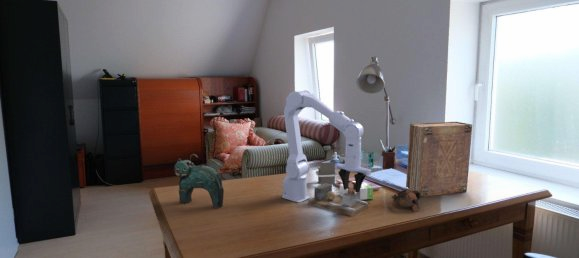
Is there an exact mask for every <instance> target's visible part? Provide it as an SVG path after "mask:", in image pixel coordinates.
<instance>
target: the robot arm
mask: <svg viewBox="0 0 579 258" xmlns="http://www.w3.org/2000/svg"><path fill="white" fill-rule="evenodd" d="M285 99H286V103H285V106H284V109H283V116H284V123H285V130H286V131H285V132H286V139H287V145H288V152H289V156H288V158H287V160H286V166H285V172H286V173H285V174H286V176H285V177H284V178H283V181H282V196H281V198H282V199H285V200H288V201H292V202H295V203H302V202H304V201H306V200H307V201H308V200H309V199H312V197H311V196H310V195H307V176H308V175H307V174H308V173H309V171H310V167H311V166H310V164H309V162H308V160H307V159H308V158H307V156H306V154H305V153H304V151H303V143H302V138H301V130H300V129H301V127H300V121H299V114H300V113H301V112H302V110H303V109H305V108H312V109H314V110H315V111H317V112H318V113H320V114H321V115H323V116H324V117H326V118H327V119H328V121H329V124H330V125H331V126H333V127H335V128H336V129H337V130H338V131H340V132H341V133H343V136H344V138H345V151H344V152H345V154H344V155H345V156H344V163H339V162H338V163H335V170H339V171H338V173H337V174H338V176H339V177H340V180H341V184H343V187H344V190H346V189H348V181H349V180H350V175H351V173H355V174H354V175H353V178H354V180H355V192H360V188H361V185H362V183H363V182H364V181H365V178H366V177H369V176H371V175H372V169H369V168H367V167H363V166H361V160H362V155H361V154H362V136H363V135H364V131H365V130H364V126H363V125H362V124H361V123H360V122H359V121H356V122H355V120H354V119H351V118H350V117H348V116H346V115H345V112H343V111H340V110H336V111H335V110H333V109H332V108H330V107H329V106H328V105H327V104H325V103H324V102H323V101H321V100H320V99H319V98H318V97H317V96H315V94H314V93H311V92H310V91H309V90H302V91H301V90H300V91H296V90H295V91H291V92H290V93H289V94H288V96H287V97H285Z"/></svg>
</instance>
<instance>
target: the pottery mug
mask: <svg viewBox="0 0 579 258" xmlns="http://www.w3.org/2000/svg"><path fill="white" fill-rule="evenodd" d="M408 197H409V199H410V200H411V203H412V204H413V206H412V207H411V208H412V210H413V213H416V212H418V211H419V210H420V208H421V207H420V203H419V202H420V200H421V198H422V197H421V194H420V192H419V191H417V190H415V191H413V192H411V191H410V190H409V189H406V188H405V189H402V190H401V191H398V192H397V193H396V194H393V195H392V197H391V198H392V199H393V200H392V203H393V204H396V205H399V204H400V202H401V201H404V202H408ZM400 200H401V201H400Z"/></svg>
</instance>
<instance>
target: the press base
mask: <svg viewBox="0 0 579 258" xmlns="http://www.w3.org/2000/svg"><path fill="white" fill-rule="evenodd" d="M313 188H314V194H313V196H314V197H311V198H309V199H307V204H309V205H312V206H315V207H319V208H322V209H326V210H329V211H333V212H336V213H338V214H339V213H340V214H343V215H347V216H350V217H354V216H355V215H357V214H359V213H360V212H363V211H364V210H366V209H368V208H369V202H367V201H364V200H360V204H358V205H356V206H354V207H352V208H349V207H345V206H342V199H343V196H342V197H341V196H340V195H336V197H335V199H334V200H329V199H328V198H327V193H328V192H330V191H333V185H332V184H328V183H325V184H322V185H321V184H319V185H318V186H315V187H313Z"/></svg>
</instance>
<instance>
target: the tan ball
mask: <svg viewBox="0 0 579 258" xmlns="http://www.w3.org/2000/svg"><path fill="white" fill-rule="evenodd" d="M336 196H337V195H336V193H335V192H334V191H333V190H332V191H330V192H328V193H327V198H328V199H329V200H334V199H335V197H336Z"/></svg>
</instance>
